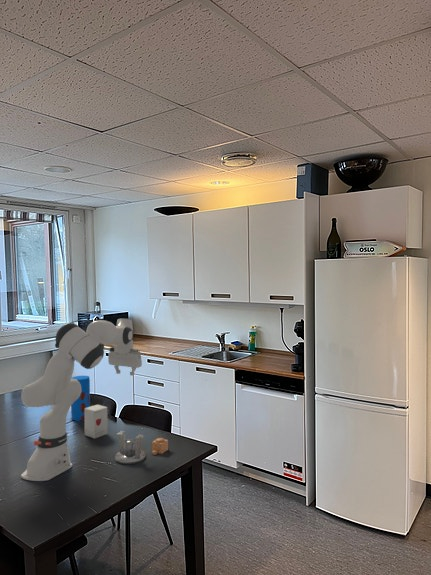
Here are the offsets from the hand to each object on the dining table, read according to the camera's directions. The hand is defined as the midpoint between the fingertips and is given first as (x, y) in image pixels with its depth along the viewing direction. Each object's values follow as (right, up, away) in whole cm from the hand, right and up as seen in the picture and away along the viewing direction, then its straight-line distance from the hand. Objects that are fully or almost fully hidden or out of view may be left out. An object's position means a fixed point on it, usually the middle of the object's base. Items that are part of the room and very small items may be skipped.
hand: (125, 374), depth 227 cm
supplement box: (-17, -34, +6) cm, 39 cm away
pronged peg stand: (+8, -35, -25) cm, 43 cm away
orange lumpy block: (+21, -35, -16) cm, 44 cm away
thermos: (-34, -34, +33) cm, 59 cm away
